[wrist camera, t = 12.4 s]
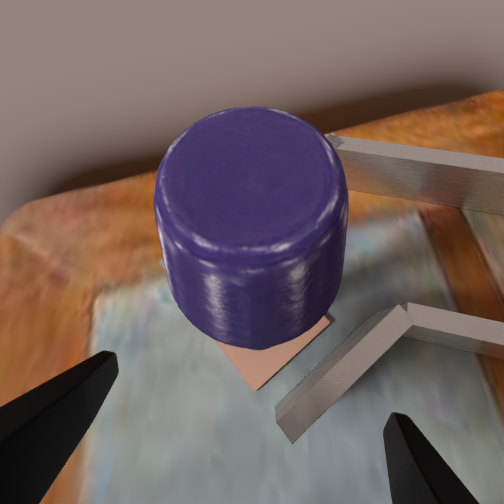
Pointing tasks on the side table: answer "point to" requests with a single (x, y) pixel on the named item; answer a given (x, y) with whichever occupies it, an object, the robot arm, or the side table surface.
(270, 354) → the end pad
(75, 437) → the robot arm
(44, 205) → the side table surface
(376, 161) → the bent rails
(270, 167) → the toy lamp
